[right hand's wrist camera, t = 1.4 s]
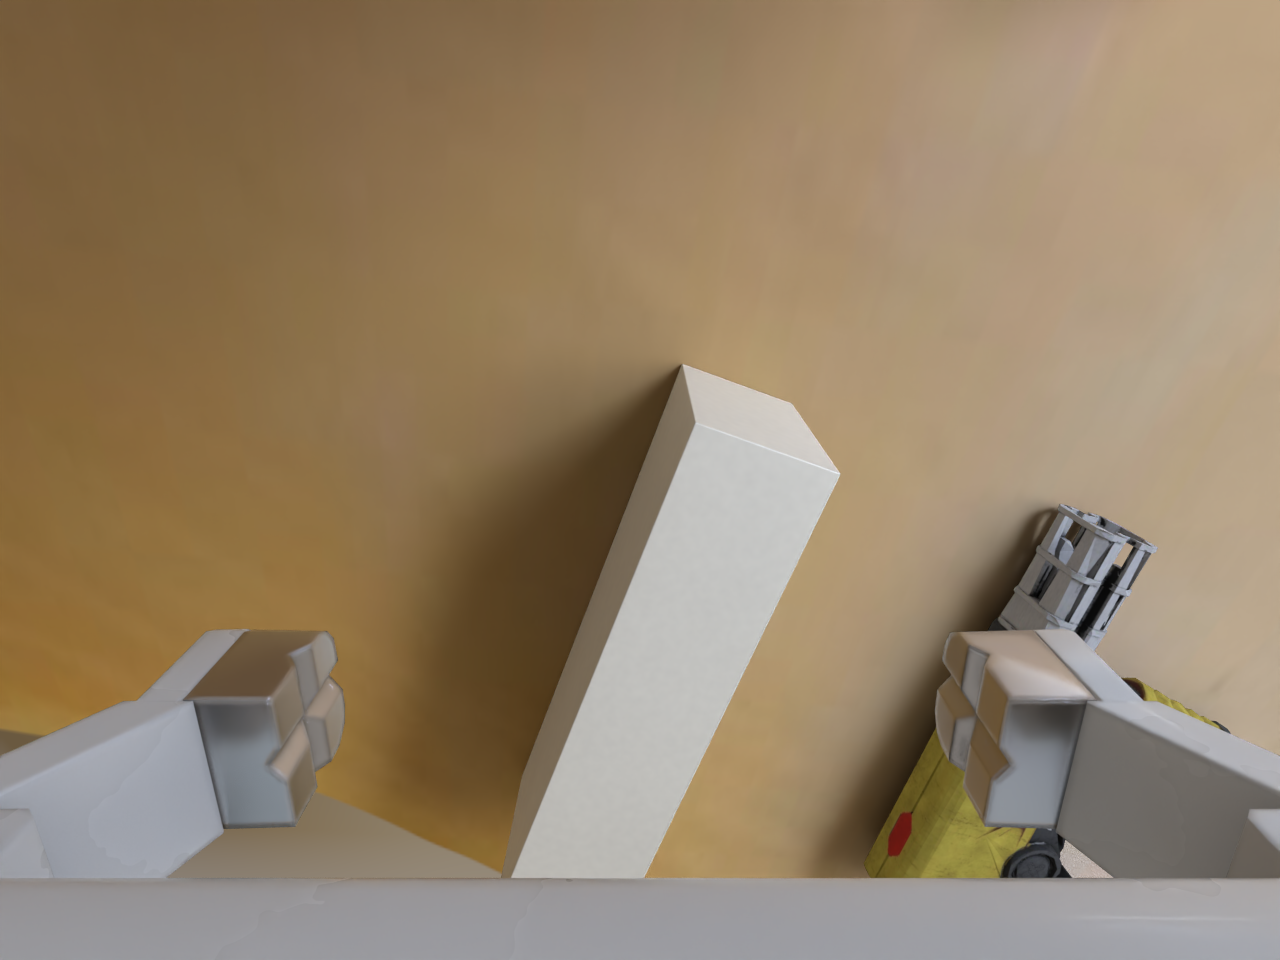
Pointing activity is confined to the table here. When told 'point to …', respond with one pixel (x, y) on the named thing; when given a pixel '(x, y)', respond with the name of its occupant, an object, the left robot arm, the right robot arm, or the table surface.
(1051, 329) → the table surface
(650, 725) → the bar
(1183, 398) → the table surface
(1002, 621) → the toy gun
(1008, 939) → the right robot arm
